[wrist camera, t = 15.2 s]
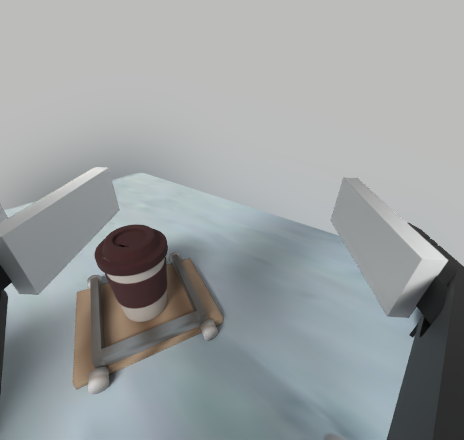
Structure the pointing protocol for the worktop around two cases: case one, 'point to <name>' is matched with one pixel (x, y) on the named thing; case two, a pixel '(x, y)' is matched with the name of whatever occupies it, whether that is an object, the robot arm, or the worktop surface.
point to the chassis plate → (137, 325)
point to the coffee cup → (136, 269)
